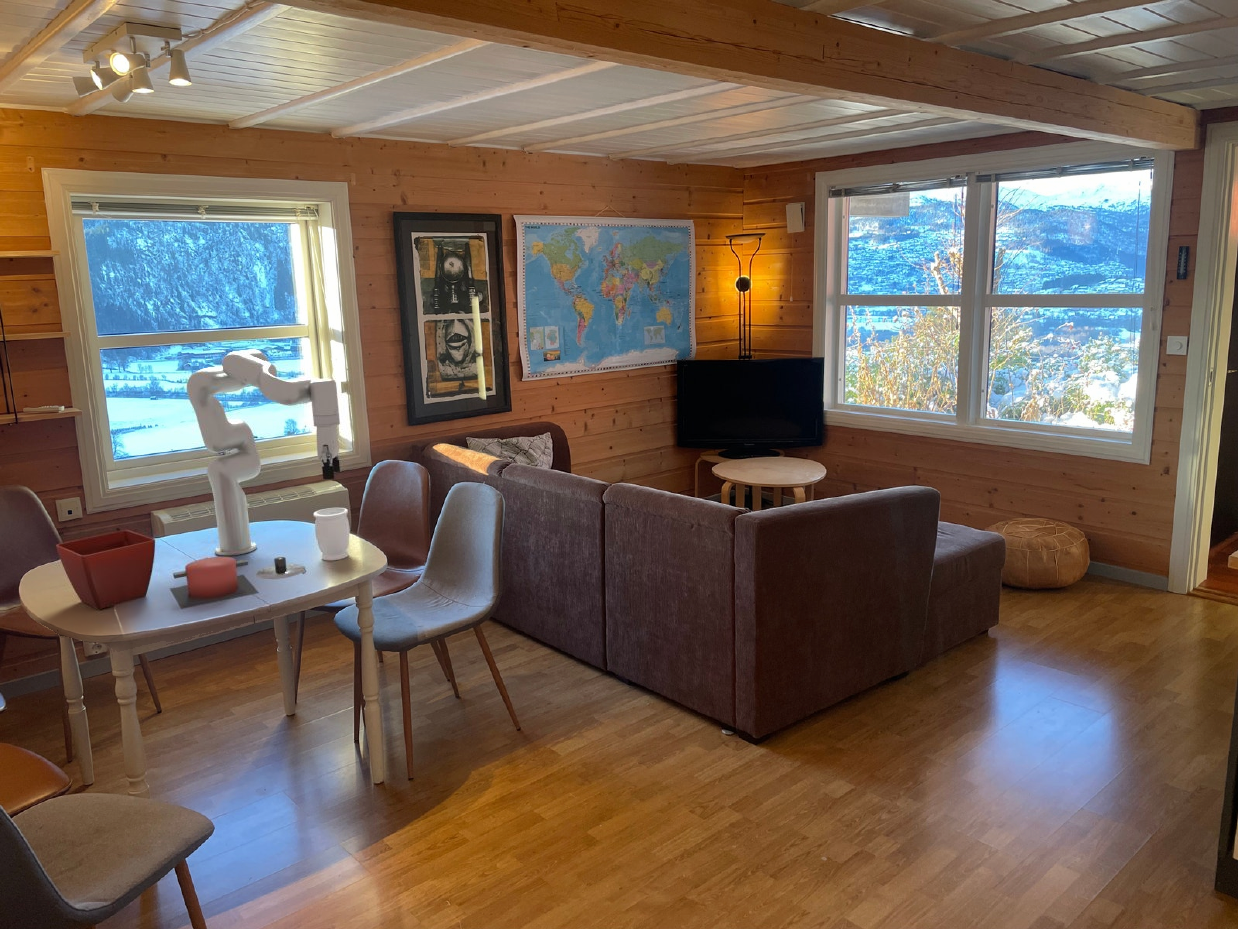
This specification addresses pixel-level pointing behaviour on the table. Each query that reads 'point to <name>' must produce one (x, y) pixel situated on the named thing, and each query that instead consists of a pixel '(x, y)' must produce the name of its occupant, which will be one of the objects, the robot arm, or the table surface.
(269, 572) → the lid
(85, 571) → the plant pot
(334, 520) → the jar
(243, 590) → the plate
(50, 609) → the table surface
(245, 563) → the pot
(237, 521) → the robot arm
